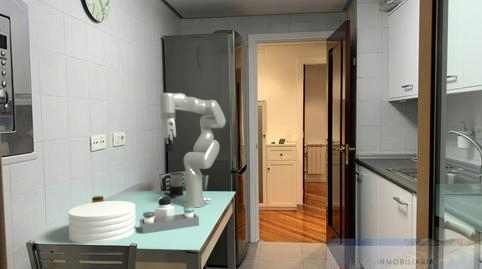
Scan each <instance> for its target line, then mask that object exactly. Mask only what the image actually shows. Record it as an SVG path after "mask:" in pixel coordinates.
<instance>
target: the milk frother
mask: <svg viewBox="0 0 482 269" xmlns="http://www.w3.org/2000/svg"><path fill="white" fill-rule="evenodd" d="M183 176H184V172H182V171H177V172H169V174H166V175H165V176H163V178H162V190H163V192H164V195H166V196H167V197H169V198H170V199H171V198H176V196H183V195H184V190H183V189H184V185H183V184H184V182H183V180H184V177H183ZM167 179H169V192H166V191H167Z"/></svg>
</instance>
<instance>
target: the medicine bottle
mask: <svg viewBox="0 0 482 269" xmlns="http://www.w3.org/2000/svg"><path fill="white" fill-rule="evenodd" d="M171 200H172V199H171V197H169V196H161V197H159V198H158V199H157V204H158V206H157V207H155V208H154V213H155V216H154V218H157V217H164V216H172V215H175V206H174V205H171V202H172V201H171Z"/></svg>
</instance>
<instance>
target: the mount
mask: <svg viewBox="0 0 482 269" xmlns="http://www.w3.org/2000/svg"><path fill="white" fill-rule="evenodd" d="M199 225H200V217H199V216H198V215H197V214H196V213H194V217H188V218H185V217H184V213H179V214H174V215H172V216H164V217H157V218H155V217H154V222H152V223H144V218H142V219H139V229H140V230H141V233H142V234H143V235H144V234H151V233H156V232H164V231H170V230H171V231H172V230H177V229H183V228H190V227H197V226H198V227H199Z"/></svg>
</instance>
